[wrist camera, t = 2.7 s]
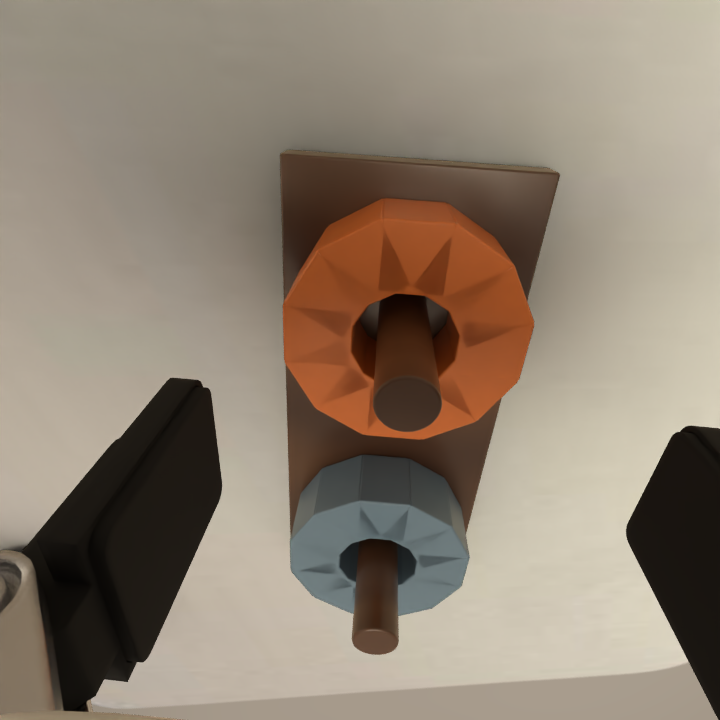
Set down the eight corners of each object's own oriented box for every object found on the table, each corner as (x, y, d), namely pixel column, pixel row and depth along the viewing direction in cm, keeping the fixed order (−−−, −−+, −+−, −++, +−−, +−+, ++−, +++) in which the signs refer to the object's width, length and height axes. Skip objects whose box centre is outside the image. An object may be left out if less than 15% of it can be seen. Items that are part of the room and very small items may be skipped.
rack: (285, 148, 14) (216, 189, 8) (550, 167, 14) (658, 222, 8) (294, 552, 24) (264, 696, 18) (450, 567, 24) (469, 716, 18)
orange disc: (296, 190, 14) (279, 210, 12) (534, 208, 14) (561, 231, 11) (299, 387, 17) (285, 429, 15) (487, 402, 17) (501, 447, 15)
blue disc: (299, 448, 19) (288, 494, 17) (472, 462, 19) (483, 511, 16) (301, 558, 22) (291, 608, 20) (446, 571, 22) (451, 623, 20)
